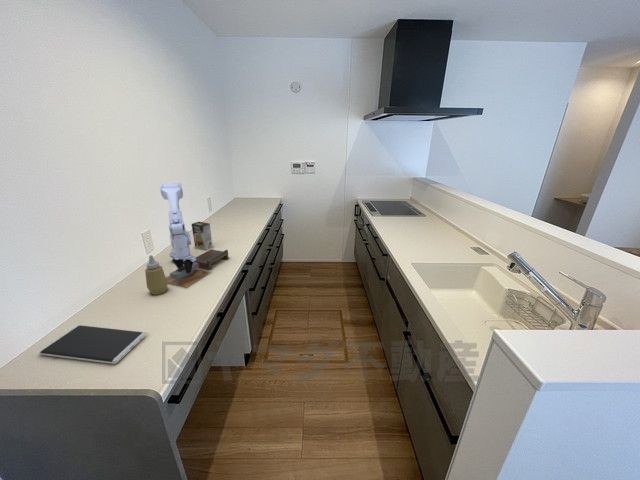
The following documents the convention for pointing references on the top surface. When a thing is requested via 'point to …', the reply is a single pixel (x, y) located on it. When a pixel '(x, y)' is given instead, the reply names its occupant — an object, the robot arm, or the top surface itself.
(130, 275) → the top surface
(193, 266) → the remote
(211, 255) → the shelf
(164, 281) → the squeeze bottle
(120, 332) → the black flat slab
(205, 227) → the coffee box
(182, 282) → the mat
